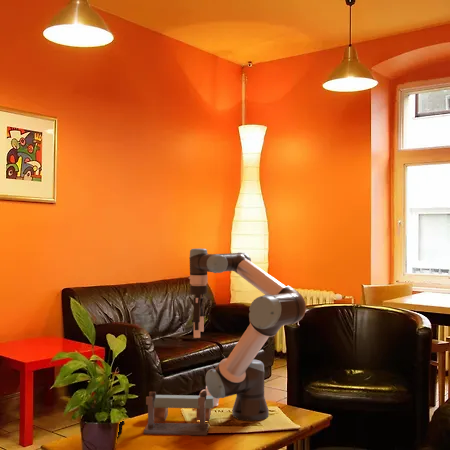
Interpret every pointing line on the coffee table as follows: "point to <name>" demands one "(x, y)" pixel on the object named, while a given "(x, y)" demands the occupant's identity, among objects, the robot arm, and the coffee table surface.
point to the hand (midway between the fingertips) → (198, 334)
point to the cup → (211, 395)
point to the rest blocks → (162, 414)
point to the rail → (181, 401)
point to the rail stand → (176, 427)
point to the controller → (120, 428)
